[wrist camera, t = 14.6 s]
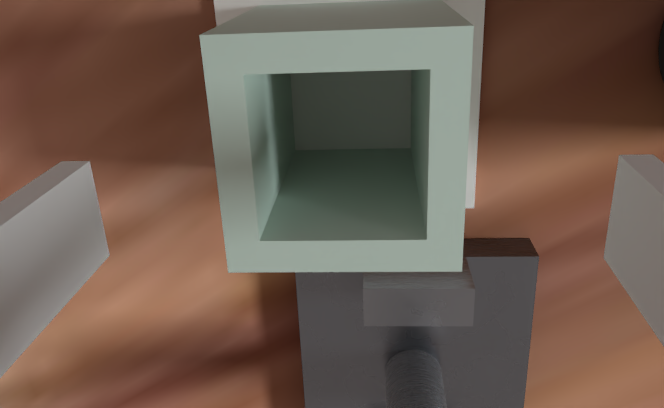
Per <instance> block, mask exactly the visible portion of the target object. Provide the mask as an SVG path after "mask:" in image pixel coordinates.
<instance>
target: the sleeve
mask: <svg viewBox="0 0 664 408" xmlns="http://www.w3.org/2000/svg"><path fill="white" fill-rule="evenodd" d="M473 33H474V25H472V24H471V23H470V22H469V21H467V20H466V19H465V18H464V17H462V16H461V15H460V14H458V13H457V12H456V11H455V10H453V9H452V8H451V7H450V6H448V5H447V4H446V3H445V2H443V1H442V0H391V1H365V2H338V3H312V4H285V5H259V6H257V7H255V8H253V9H251V10H249V11H247V12H245V13H243V14H241V15H239V16H237V17H235V18H233V19H231V20H229V21H227V22H225V23H223V24H221V25H219V26H217V27H215V28H213V29H211V30H209V31H207V32H205V33H203V34H201V35H199V37H200V45H201V53H202V61H203V69H204V78H205V86H206V94H207V102H208V110H209V119H210V127H211V135H212V143H213V151H214V159H215V168H216V176H217V184H218V192H219V200H220V209H221V217H222V225H223V233H224V241H225V249H226V258H227V266H228V273H233V272H462V264H463V243H464V222H465V201H466V180H467V159H468V138H469V117H470V96H471V75H472V54H473ZM387 70H411V148H385V149H333V150H295V137H294V122H293V107H292V92H291V77H290V73H318V72H352V71H387Z"/></svg>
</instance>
